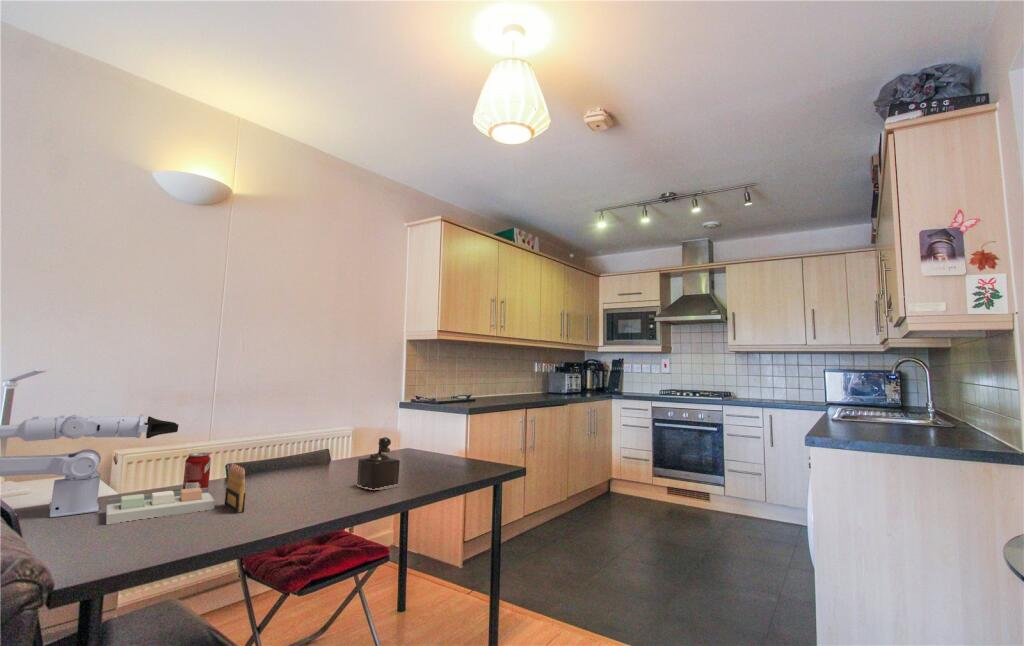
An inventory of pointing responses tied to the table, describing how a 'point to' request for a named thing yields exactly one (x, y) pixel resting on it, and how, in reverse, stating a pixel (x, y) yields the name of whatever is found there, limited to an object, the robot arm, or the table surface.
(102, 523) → the table surface
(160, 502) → the key middle
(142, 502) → the key left
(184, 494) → the key right
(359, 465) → the dark box with figurine
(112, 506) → the keypad
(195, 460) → the soda can
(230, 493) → the pencil pack
